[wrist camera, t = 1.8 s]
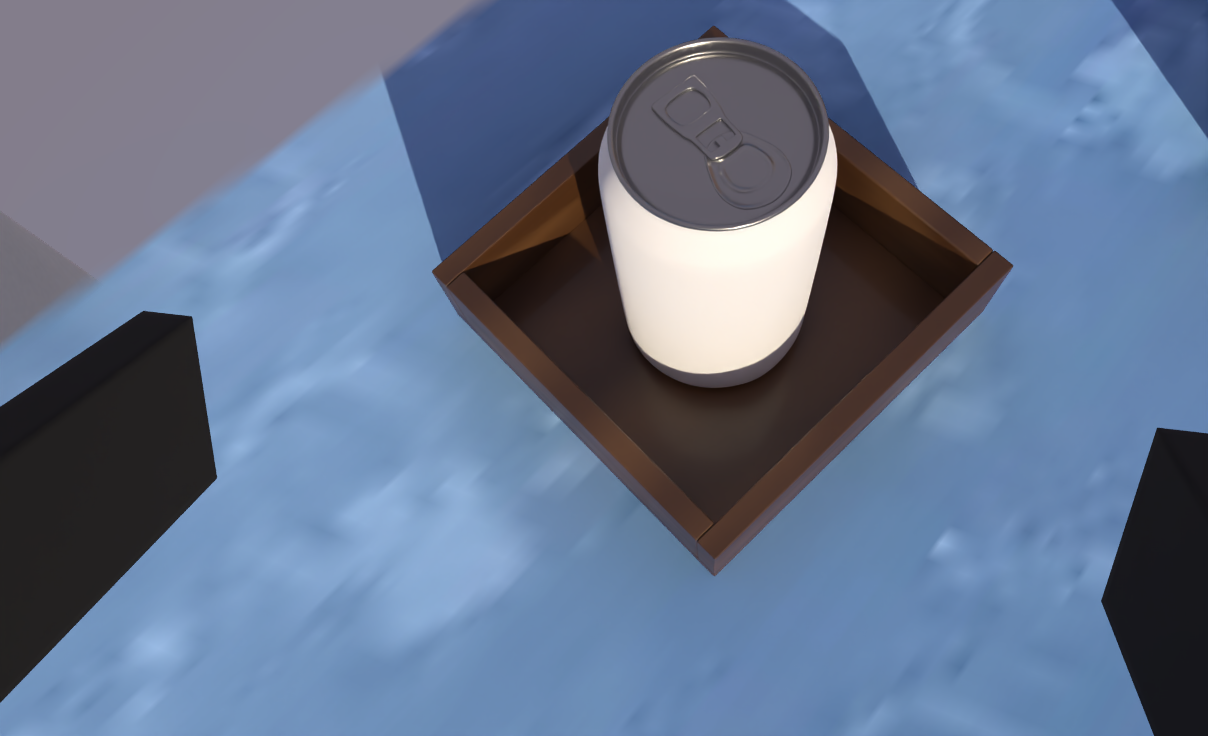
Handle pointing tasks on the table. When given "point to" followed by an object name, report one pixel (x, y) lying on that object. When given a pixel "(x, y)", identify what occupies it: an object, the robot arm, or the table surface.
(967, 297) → the wooden box
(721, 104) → the can
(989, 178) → the table surface
